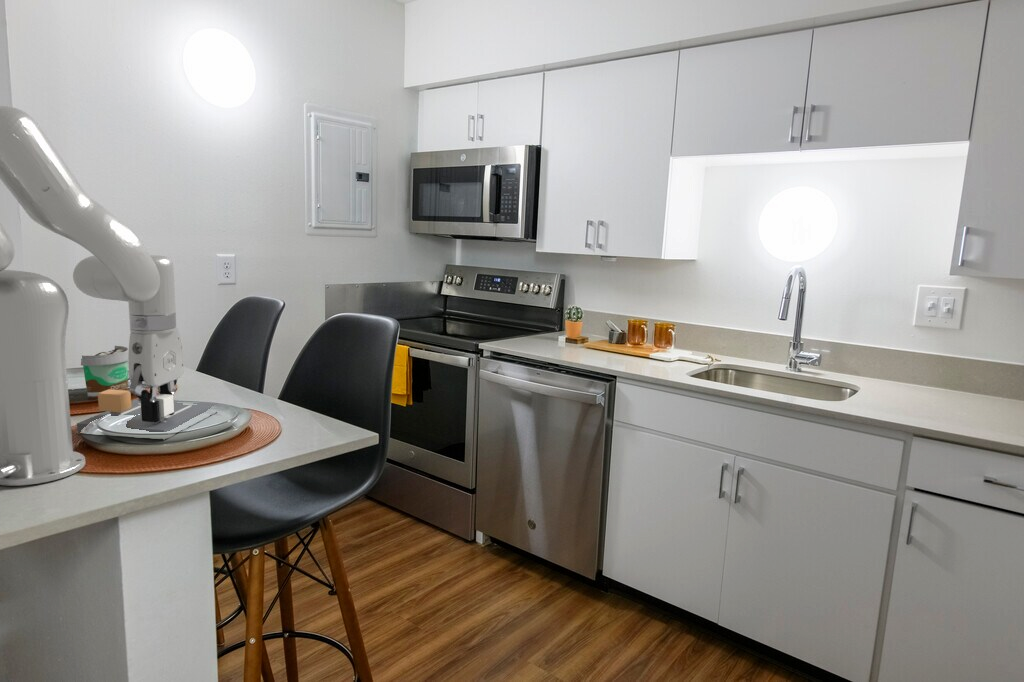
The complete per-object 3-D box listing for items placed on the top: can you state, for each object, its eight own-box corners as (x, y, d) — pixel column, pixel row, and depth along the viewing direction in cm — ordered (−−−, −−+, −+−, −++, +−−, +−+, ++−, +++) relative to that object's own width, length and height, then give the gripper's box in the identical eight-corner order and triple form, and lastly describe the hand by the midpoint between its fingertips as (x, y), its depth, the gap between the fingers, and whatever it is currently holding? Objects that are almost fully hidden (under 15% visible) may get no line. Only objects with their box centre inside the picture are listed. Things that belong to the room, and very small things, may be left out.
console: (164, 440, 118) (163, 429, 118) (77, 433, 120) (76, 422, 119) (217, 412, 136) (217, 402, 135) (141, 406, 137) (140, 397, 137)
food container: (111, 402, 139) (108, 357, 137) (83, 401, 139) (80, 356, 137) (145, 388, 151) (142, 346, 149) (119, 386, 151) (116, 345, 149)
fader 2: (164, 422, 121) (163, 399, 120) (142, 420, 121) (141, 397, 120) (174, 418, 124) (173, 394, 123) (152, 416, 124) (151, 393, 123)
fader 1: (121, 418, 122) (119, 394, 121) (99, 416, 122) (97, 393, 122) (131, 413, 125) (130, 390, 124) (110, 412, 125) (108, 389, 125)
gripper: (143, 331, 111) (148, 433, 114) (198, 317, 127) (201, 407, 130) (101, 328, 111) (108, 430, 115) (162, 315, 128) (166, 404, 131)
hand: (158, 416), depth 122 cm, fingers open, 3 cm apart
